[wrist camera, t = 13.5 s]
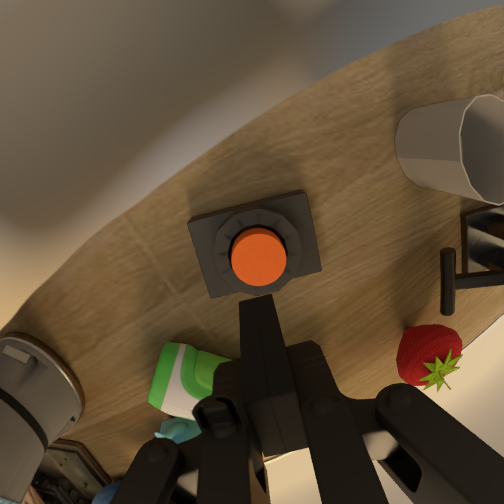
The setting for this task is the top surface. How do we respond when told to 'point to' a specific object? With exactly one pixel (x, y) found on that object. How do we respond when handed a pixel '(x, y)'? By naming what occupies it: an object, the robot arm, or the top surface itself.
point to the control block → (255, 216)
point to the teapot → (179, 429)
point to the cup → (455, 147)
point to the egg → (106, 493)
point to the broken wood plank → (32, 497)
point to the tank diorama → (68, 475)
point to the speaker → (182, 379)
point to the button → (258, 257)
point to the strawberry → (428, 354)
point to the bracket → (483, 239)
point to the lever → (461, 280)
